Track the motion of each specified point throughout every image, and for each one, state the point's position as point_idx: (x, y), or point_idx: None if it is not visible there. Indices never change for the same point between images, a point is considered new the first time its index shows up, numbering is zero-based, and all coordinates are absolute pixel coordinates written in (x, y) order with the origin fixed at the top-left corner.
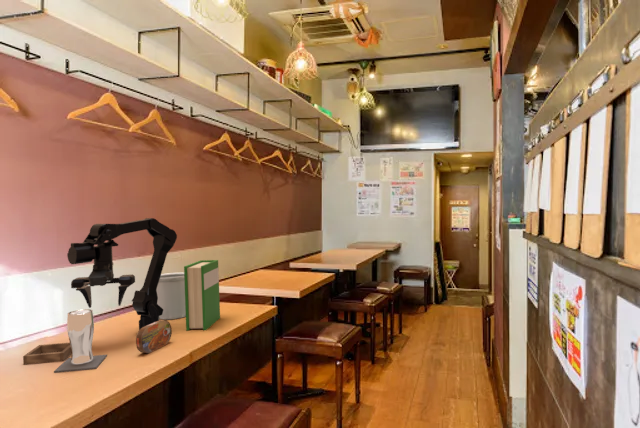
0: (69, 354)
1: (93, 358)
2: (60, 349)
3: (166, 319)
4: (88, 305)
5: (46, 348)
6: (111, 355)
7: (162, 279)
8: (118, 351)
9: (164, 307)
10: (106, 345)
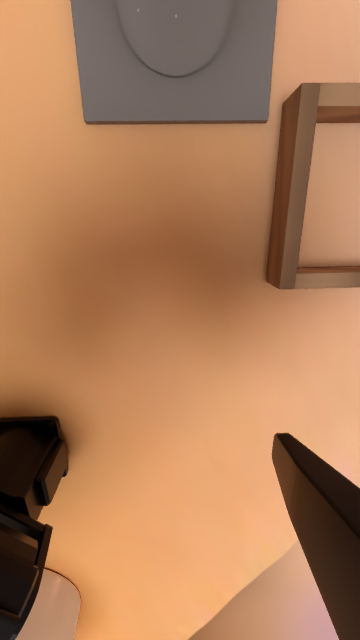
0: (277, 188)
1: (117, 7)
2: (332, 268)
3: None
4: (304, 447)
5: None
6: (67, 130)
7: None
8: (57, 193)
9: None
10: (151, 306)
